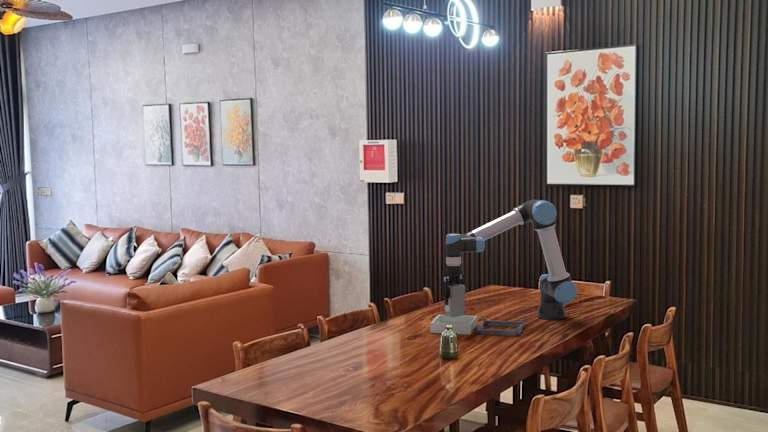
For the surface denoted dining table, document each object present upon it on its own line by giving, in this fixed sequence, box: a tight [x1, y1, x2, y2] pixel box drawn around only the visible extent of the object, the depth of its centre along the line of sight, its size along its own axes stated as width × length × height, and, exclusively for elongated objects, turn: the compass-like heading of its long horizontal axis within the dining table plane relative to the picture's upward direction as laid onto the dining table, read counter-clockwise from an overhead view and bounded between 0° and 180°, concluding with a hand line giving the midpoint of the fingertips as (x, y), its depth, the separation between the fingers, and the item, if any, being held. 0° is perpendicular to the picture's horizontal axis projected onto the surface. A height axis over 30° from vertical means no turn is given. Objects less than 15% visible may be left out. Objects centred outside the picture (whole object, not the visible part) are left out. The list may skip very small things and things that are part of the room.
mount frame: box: [476, 316, 525, 337], centre depth 373 cm, size 21×21×4 cm
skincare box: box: [444, 284, 466, 317], centre depth 376 cm, size 8×7×16 cm
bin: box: [429, 314, 479, 336], centre depth 378 cm, size 20×20×5 cm
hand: (453, 309), depth 377 cm, fingers closed on skincare box, 8 cm apart
